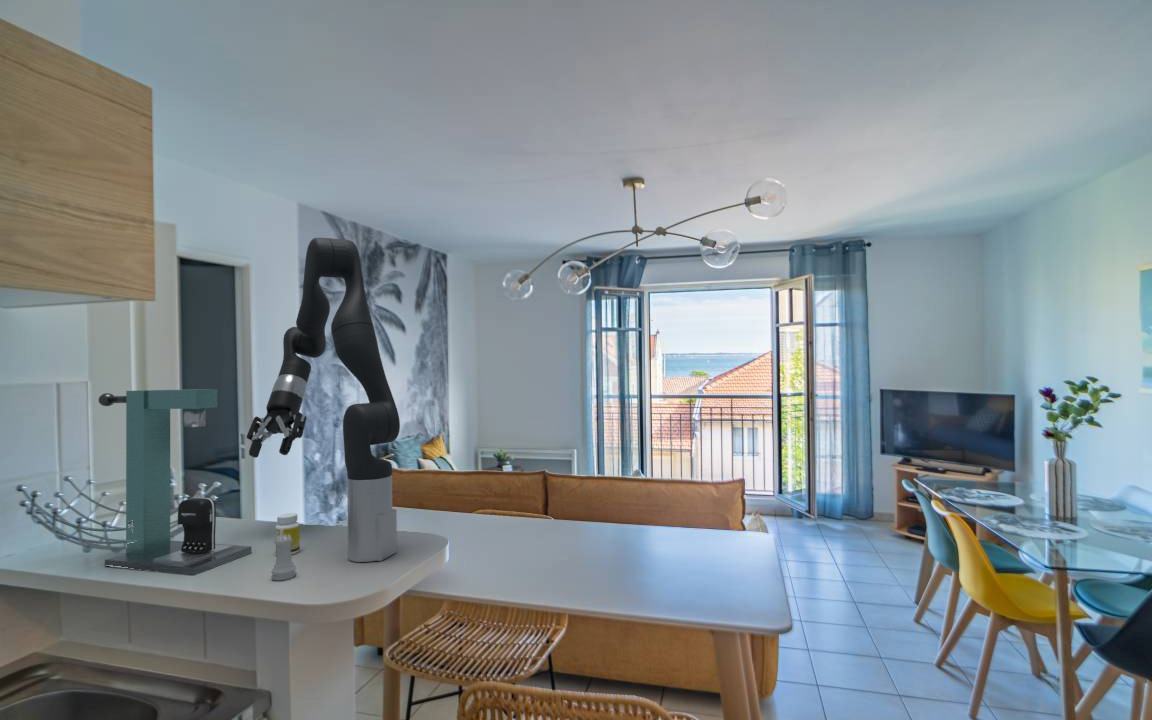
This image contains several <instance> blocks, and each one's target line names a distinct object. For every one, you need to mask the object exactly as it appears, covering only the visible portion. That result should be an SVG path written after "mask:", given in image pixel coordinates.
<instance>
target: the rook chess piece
mask: <svg viewBox="0 0 1152 720" xmlns="http://www.w3.org/2000/svg"><path fill="white" fill-rule="evenodd" d="M292 541H293V539H292V538H291V535H288V537H286V535H284V537H282V535H280V536H278V537H276V536H275V541H274V542H273V543H274V544H275V546H276V545H277V549H276V548H275V552H276V551H277V555H276V559H275V564H274V566H273V568H272V569H271V573H272V574H271V577H270V578H271V580H273V581H278V582H281V581H287V580H291V579H293V578H295V576H296V575H297V571H296V570H297V566H296V565H295V564H294V563H295V562H293V558H292V555H291V548H292V547H291V542H292Z"/></svg>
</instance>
